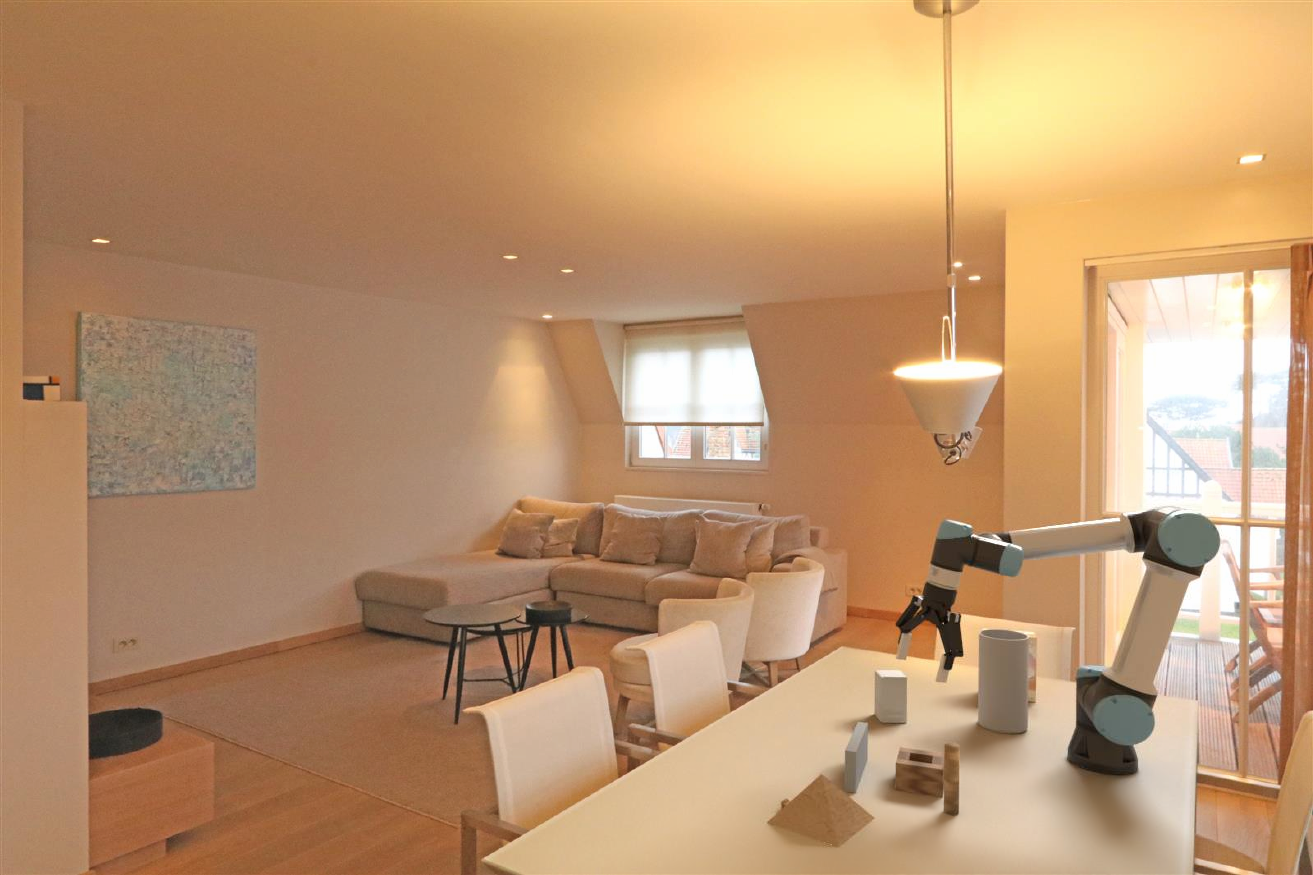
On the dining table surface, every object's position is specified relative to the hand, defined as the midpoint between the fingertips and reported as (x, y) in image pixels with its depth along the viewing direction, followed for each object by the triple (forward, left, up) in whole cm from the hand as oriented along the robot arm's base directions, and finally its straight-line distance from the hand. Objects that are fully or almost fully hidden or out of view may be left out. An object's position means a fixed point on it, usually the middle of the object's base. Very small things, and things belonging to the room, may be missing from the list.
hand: (920, 670), depth 203 cm
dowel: (-8, +24, -23) cm, 34 cm away
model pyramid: (+17, +38, -23) cm, 48 cm away
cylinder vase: (-19, -36, -23) cm, 47 cm away
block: (-1, +12, -23) cm, 26 cm away
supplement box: (+10, -31, -23) cm, 40 cm away
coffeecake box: (-21, -65, -23) cm, 72 cm away
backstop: (+13, +12, -23) cm, 29 cm away
